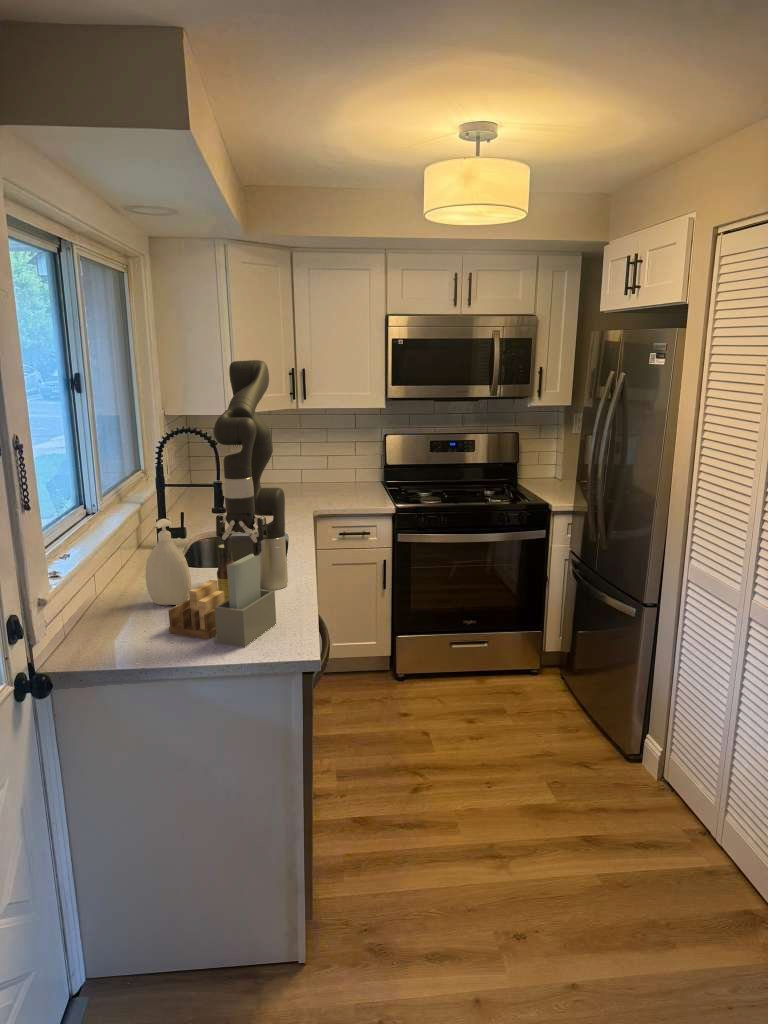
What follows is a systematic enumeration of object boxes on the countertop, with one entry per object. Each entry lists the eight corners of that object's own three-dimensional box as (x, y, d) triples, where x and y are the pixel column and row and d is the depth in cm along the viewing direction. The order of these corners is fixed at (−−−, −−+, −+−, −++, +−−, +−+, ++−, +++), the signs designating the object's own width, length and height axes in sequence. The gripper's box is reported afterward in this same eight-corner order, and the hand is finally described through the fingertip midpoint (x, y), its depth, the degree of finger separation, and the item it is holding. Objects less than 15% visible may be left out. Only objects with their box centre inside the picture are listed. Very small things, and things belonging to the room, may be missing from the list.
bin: (249, 620, 191) (247, 587, 188) (276, 624, 188) (274, 590, 186) (216, 643, 175) (214, 607, 173) (245, 647, 172) (242, 610, 170)
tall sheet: (255, 621, 187) (251, 553, 183) (262, 622, 186) (258, 554, 182) (231, 637, 176) (226, 565, 172) (238, 638, 175) (234, 566, 171)
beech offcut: (219, 617, 188) (217, 590, 186) (225, 618, 187) (223, 591, 186) (200, 628, 180) (198, 601, 178) (207, 629, 179) (205, 601, 177)
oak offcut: (212, 612, 192) (210, 579, 190) (219, 613, 191) (217, 580, 189) (191, 625, 182) (189, 590, 180) (198, 626, 182) (195, 591, 180)
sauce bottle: (232, 603, 205) (228, 541, 201) (245, 607, 201) (241, 544, 197) (214, 609, 200) (210, 545, 196) (227, 613, 197) (223, 549, 192)
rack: (199, 616, 195) (198, 593, 193) (237, 621, 190) (236, 598, 189) (169, 633, 182) (167, 609, 180) (209, 639, 178) (207, 615, 176)
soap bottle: (140, 608, 202) (132, 521, 196) (153, 599, 210) (146, 516, 204) (185, 610, 200) (178, 523, 194) (196, 601, 208) (190, 517, 202)
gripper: (270, 493, 174) (273, 552, 178) (223, 490, 179) (227, 548, 182) (255, 498, 167) (259, 560, 171) (207, 495, 172) (212, 555, 176)
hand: (242, 553), depth 177 cm, fingers open, 8 cm apart
